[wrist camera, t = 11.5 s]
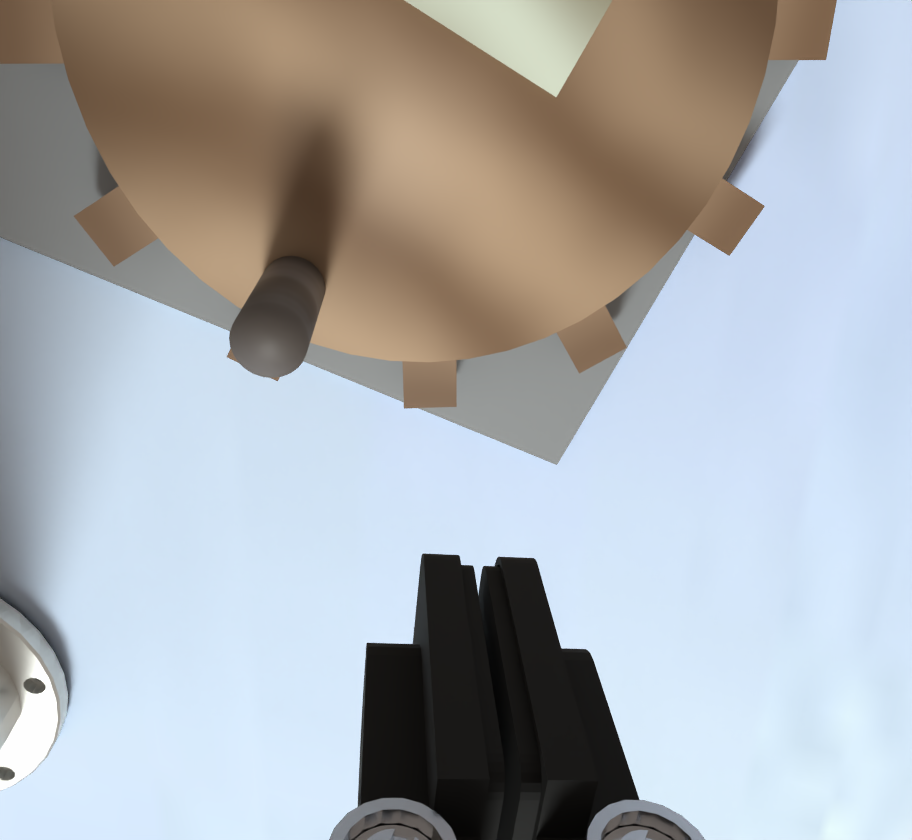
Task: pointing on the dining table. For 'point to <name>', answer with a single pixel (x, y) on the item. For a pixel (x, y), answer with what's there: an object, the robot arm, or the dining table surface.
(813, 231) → the dining table surface
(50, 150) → the turntable base
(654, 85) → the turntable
